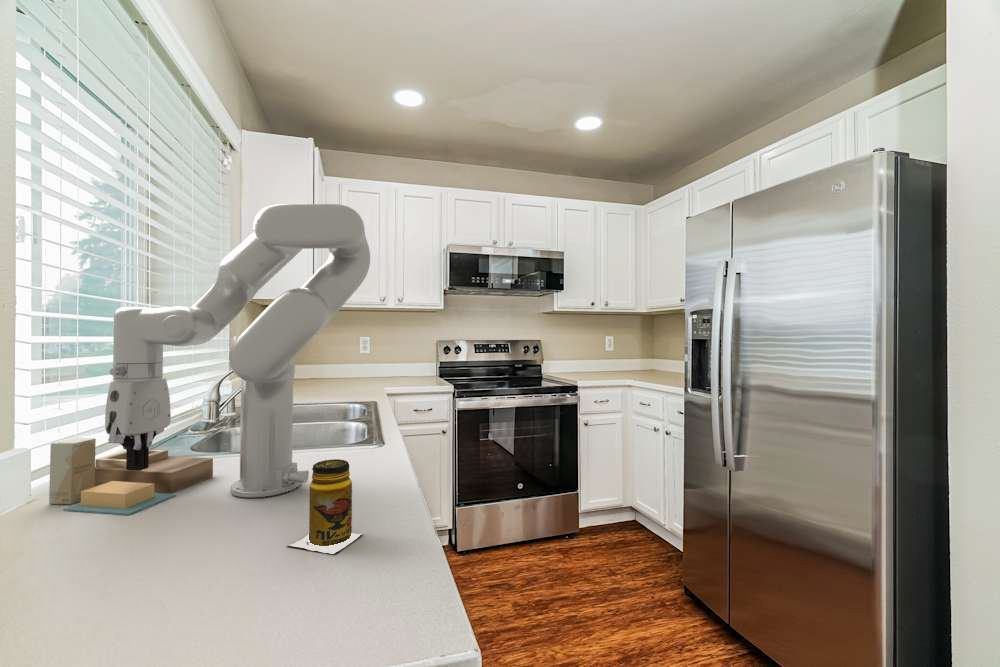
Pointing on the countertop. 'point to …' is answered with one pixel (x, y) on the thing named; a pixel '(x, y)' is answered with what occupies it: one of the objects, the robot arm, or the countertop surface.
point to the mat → (122, 511)
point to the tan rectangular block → (117, 494)
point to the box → (71, 469)
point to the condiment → (330, 503)
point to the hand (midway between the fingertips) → (137, 468)
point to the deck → (155, 471)
